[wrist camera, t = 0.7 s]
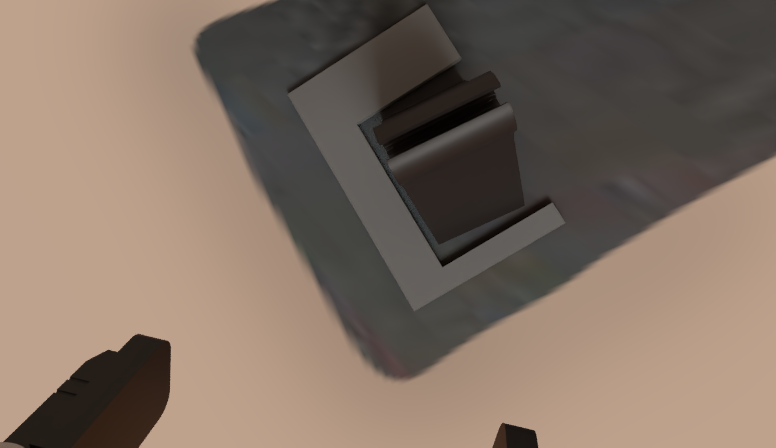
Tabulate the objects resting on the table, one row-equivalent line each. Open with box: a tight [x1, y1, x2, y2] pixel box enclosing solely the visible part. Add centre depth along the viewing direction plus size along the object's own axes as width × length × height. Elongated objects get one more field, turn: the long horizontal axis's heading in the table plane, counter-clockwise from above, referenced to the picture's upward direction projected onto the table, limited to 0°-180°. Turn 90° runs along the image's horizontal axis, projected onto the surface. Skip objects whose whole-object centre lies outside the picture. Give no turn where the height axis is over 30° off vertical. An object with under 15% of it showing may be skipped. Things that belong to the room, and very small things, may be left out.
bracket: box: [288, 4, 565, 311], centre depth 37 cm, size 11×17×1 cm, turn 31°
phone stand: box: [373, 71, 525, 244], centre depth 31 cm, size 9×6×12 cm, turn 24°
